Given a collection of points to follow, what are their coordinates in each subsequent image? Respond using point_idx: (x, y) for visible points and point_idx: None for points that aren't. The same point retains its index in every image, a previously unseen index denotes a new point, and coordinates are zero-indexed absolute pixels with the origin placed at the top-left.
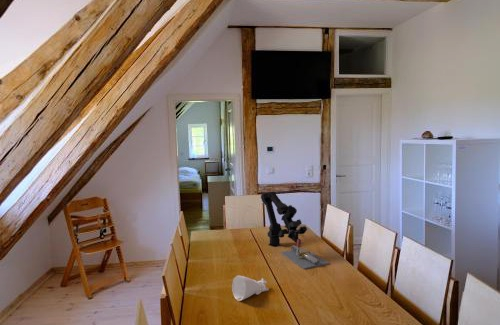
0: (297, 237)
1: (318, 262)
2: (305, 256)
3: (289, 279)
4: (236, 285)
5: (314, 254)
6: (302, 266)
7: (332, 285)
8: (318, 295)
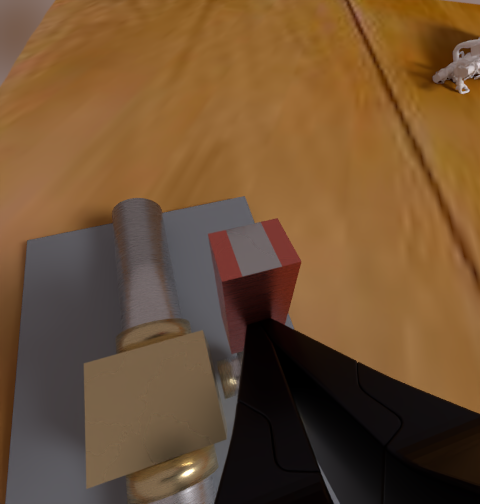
0: (269, 399)
1: (106, 255)
2: (179, 315)
3: (345, 128)
4: None
5: (17, 463)
6: (249, 215)
7: (175, 69)
8: (255, 38)
